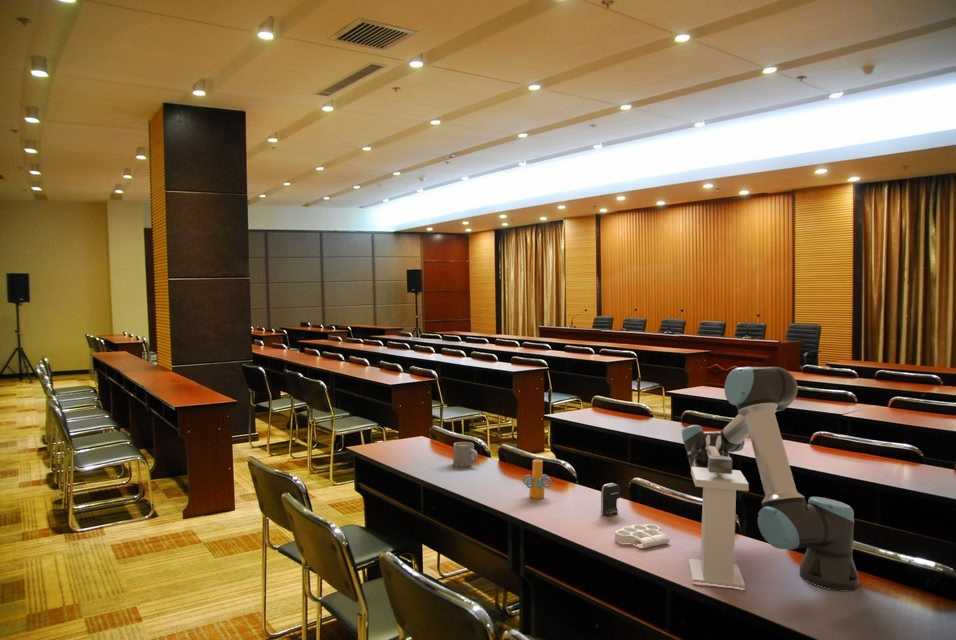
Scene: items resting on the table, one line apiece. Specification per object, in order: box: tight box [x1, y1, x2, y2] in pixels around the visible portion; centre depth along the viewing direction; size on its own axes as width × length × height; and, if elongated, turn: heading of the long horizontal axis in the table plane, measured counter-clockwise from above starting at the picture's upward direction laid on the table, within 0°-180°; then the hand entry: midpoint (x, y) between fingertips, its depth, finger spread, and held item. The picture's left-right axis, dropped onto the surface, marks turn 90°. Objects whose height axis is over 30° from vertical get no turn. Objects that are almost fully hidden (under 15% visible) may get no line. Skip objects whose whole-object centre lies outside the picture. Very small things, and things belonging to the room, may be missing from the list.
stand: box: [688, 466, 750, 590], centre depth 186 cm, size 14×15×30 cm
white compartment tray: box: [614, 523, 671, 549], centre depth 215 cm, size 3×18×15 cm
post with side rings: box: [522, 459, 553, 500], centre depth 260 cm, size 12×10×15 cm
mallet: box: [707, 446, 733, 474], centre depth 192 cm, size 6×24×4 cm, turn 166°
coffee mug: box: [452, 441, 479, 468], centre depth 309 cm, size 13×10×10 cm
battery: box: [600, 482, 621, 517], centre depth 240 cm, size 7×4×11 cm, turn 123°
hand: (714, 439), depth 197 cm, fingers closed on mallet, 2 cm apart
